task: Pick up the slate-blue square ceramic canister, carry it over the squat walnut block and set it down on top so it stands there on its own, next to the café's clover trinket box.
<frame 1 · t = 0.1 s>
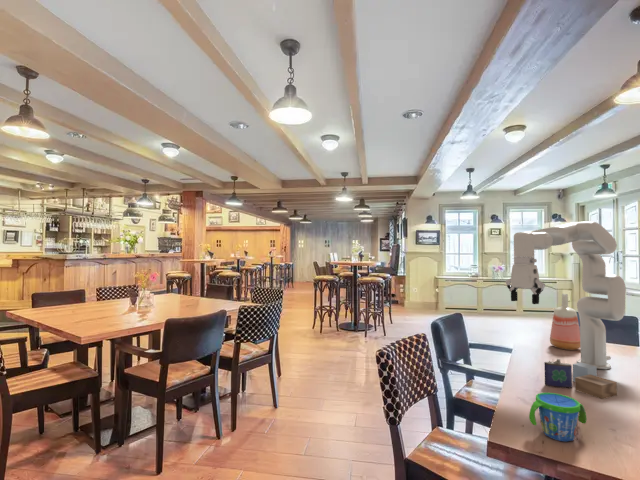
hand: (524, 302, 149), 31 cm above the table, fingers open, 9 cm apart
snack cup: (558, 436, 101), on the table
block: (595, 393, 133), on the table
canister: (584, 382, 143), on the table
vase: (565, 348, 196), on the table
clover trinket box: (558, 387, 138), on the table
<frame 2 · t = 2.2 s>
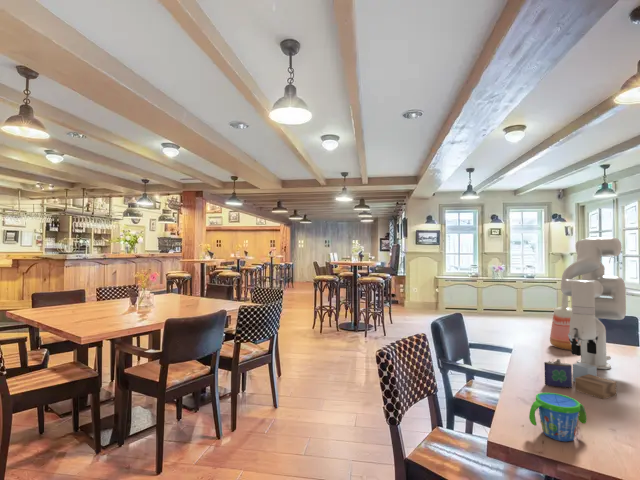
hand: (584, 354, 143), 11 cm above the table, fingers open, 9 cm apart
nothing on the table moved.
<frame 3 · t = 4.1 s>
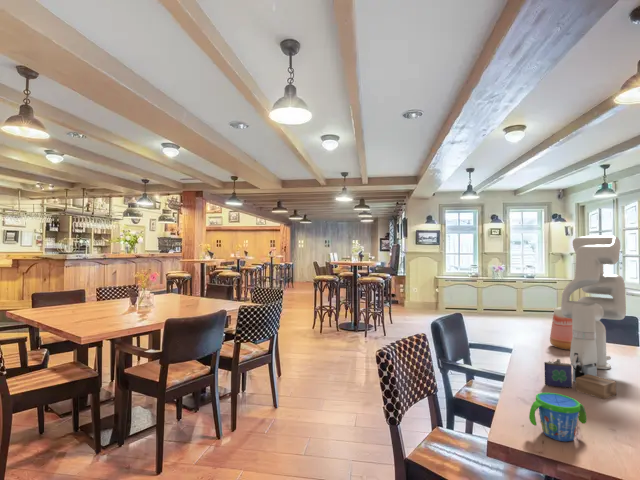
hand: (584, 380, 143), 1 cm above the table, fingers closed on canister, 5 cm apart
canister: (584, 382, 143), on the table, touching gripper
everything else where it was.
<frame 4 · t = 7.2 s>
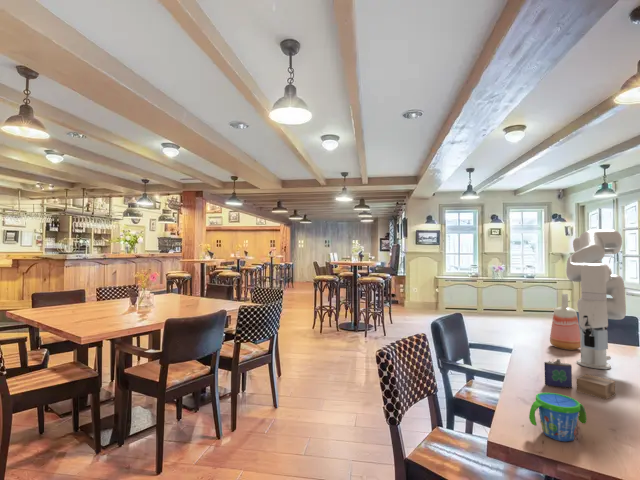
hand: (594, 345, 133), 17 cm above the table, fingers closed on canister, 5 cm apart
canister: (594, 347, 133), point 16 cm above the table, touching gripper
everything else where it was.
when the fingers open (6 cm above the table, at t = 10.4 s): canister stays where it is, resting on block.
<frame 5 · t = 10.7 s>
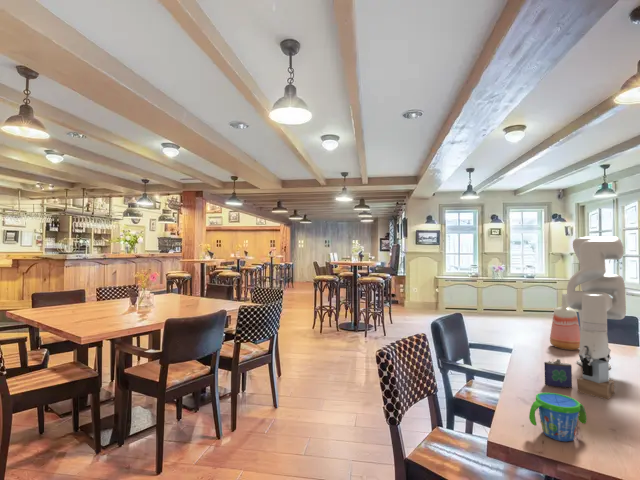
hand: (595, 373, 133), 7 cm above the table, fingers open, 8 cm apart
block: (595, 393, 133), on the table, touching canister
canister: (595, 379, 133), point 5 cm above the table, touching block
everything else where it was.
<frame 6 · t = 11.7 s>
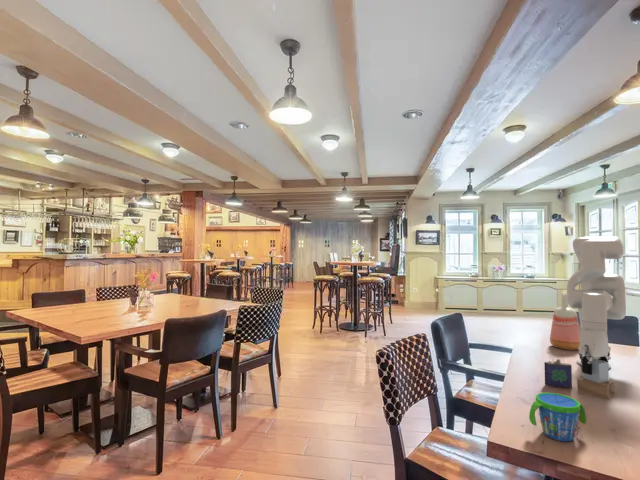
hand: (595, 372, 133), 7 cm above the table, fingers open, 9 cm apart
nothing on the table moved.
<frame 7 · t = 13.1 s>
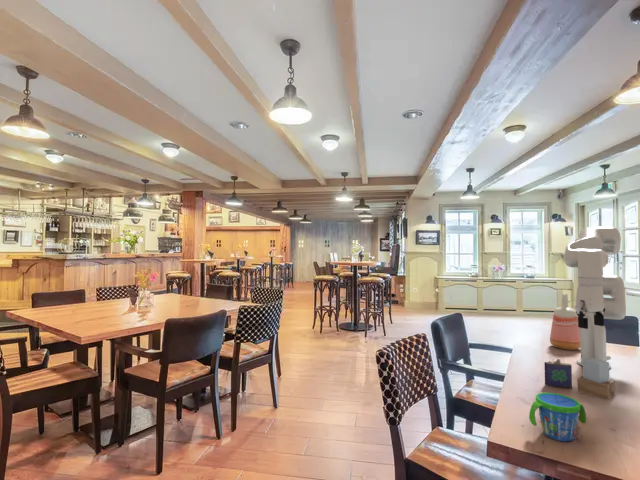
hand: (591, 326, 137), 24 cm above the table, fingers open, 9 cm apart
block: (596, 393, 133), on the table
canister: (596, 379, 133), point 5 cm above the table
everything else where it was.
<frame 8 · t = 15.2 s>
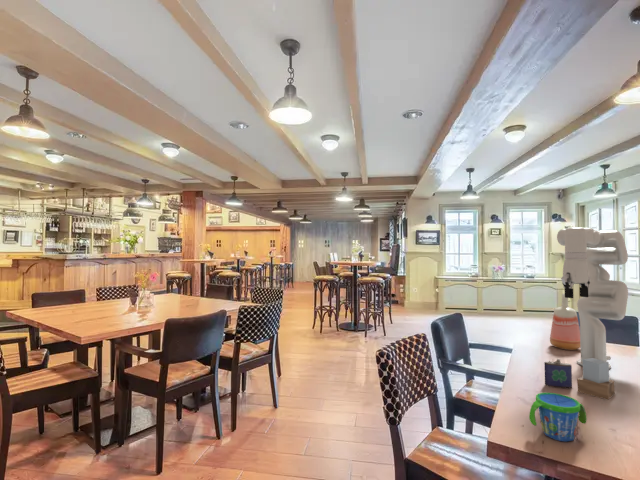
hand: (576, 297, 150), 33 cm above the table, fingers open, 9 cm apart
block: (596, 393, 133), on the table, touching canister
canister: (595, 379, 133), point 5 cm above the table, touching block
everything else where it was.
at the end: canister 0.0 cm off-centre on the block, point 5.0 cm above the block's base; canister tilted 0°; the gripper is holding nothing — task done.
